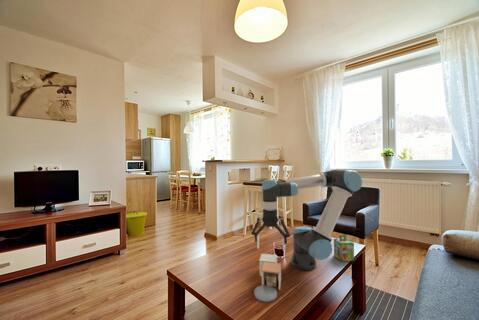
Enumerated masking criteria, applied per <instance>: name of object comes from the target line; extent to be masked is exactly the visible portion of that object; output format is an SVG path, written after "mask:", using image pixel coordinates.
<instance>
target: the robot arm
mask: <svg viewBox="0 0 479 320" xmlns="http://www.w3.org/2000/svg"><path fill="white" fill-rule="evenodd" d="M362 186H363V179H362V176H361V175H360V173H359V172H358V171H355V170H351V169H332V170H331V169H330V170H326V171H321V172H318V173H317V174H313V175H307V176H301V177H300V176H299V177H294V178H287V179H280V180H276V179H264V180H262V184H261V187H262V188H261V190H262V191H261V192H262V208H263V209H262V217H260V216H258V217H257V219H256V222H255V225H254V228H253V230H252V231H251V235H252V236H254V242H255V243H256V249H258V250H259V248H260V233H261V232H262V230H263V229H264V228H265V227H268V228H269V227H271V228H275V229H276V230H277V231H278V232H279V233H280V234H281V236H282V251H283V252H285V250H286V249H285V248H286V246H285V245H287V243H288V241H287V240H288V238H291V234H290V232H289V229H288V227H287V225H286V224H285V222H284V217H281V218H278V210H277V209H278V198H282V197H283V198H284V197H285V198H286V197H296V196H297V195H298V194H299V191H300V190H305V189H310V188H318V187H321V188H331V191H332V192H331V194H330V196H329V198H328V201H327V203H326V205H325V207H324V209H323V211H322V213H321V215H320V217H319V220H318V222H317V224H316V226H315V227H311V226H303V225H302V226H296V227H294V228H293V230H292V241H293V244H292V245H293V252H292V256H291V258H290V264H291V266H292V267H294V268H295V269H297V270H301V271H312V270H315V269H316V268H317V260H318V261H323V260H327V259H328V258H329V257H330V256H331V255H332V253H333V244H332V240H333V238H332V236H331V235H332V234H333V231H334V228H335V226H336V225H337V222H338V219H339V218H340V215H341V214H342V212H343V209H344V207H345V205H346V202H347V200H348V198H349V197H352V196H353V194H354V192H357V191H359V190H361V188H362ZM260 222H262V223H263V224H262V225H261V226H260V227H259V228H258V226H259V223H260ZM278 222H279V223H280V224H281V227H280V225H279V223H278ZM257 228H258V230H257ZM282 228H283V229H282ZM256 230H257V231H256Z"/></svg>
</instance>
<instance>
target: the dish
mask: <svg viewBox="0 0 479 320" xmlns="http://www.w3.org/2000/svg"><path fill="white" fill-rule="evenodd" d="M253 291H254V292H253V293H254V297H255V298H256V299H257V300H258V301H260V302H263V303H265V302H266V303H269V302H272V301H275V300H276V299H277V297H278V292H277V289H276V287H274V286H267V284H264V285H262V284H261V285H258V286H257V287H256V288H255V289H254V290H253Z"/></svg>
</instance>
